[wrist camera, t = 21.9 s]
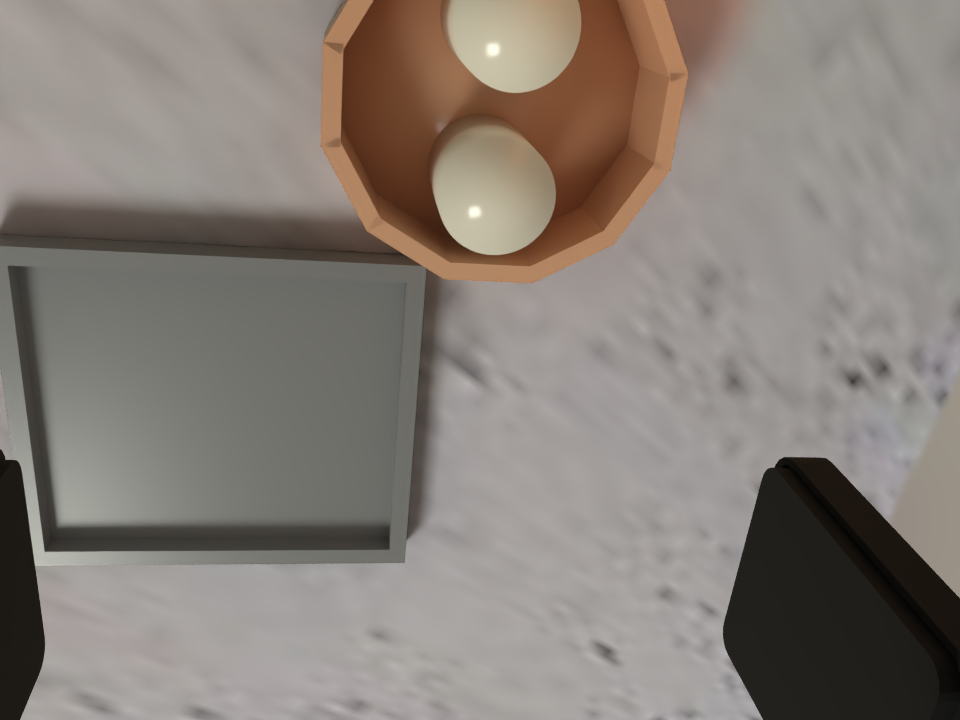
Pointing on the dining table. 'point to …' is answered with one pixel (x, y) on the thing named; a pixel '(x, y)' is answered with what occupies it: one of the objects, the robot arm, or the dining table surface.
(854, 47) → the dining table surface
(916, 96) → the dining table surface
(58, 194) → the dining table surface
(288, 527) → the parts tray
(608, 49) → the bowl
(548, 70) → the pebble
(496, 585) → the dining table surface
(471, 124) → the pebble
